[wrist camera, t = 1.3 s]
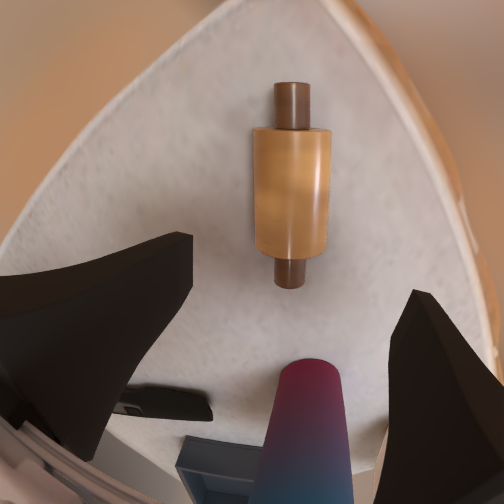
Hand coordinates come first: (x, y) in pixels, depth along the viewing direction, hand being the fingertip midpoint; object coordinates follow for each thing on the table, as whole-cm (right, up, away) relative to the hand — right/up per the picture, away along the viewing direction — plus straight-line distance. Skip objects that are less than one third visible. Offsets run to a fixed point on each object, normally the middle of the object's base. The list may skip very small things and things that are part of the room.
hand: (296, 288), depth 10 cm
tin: (-4, -27, +24) cm, 37 cm away
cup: (+3, -9, +15) cm, 18 cm away
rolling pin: (+1, +5, +9) cm, 10 cm away
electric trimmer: (-12, -13, +20) cm, 27 cm away
